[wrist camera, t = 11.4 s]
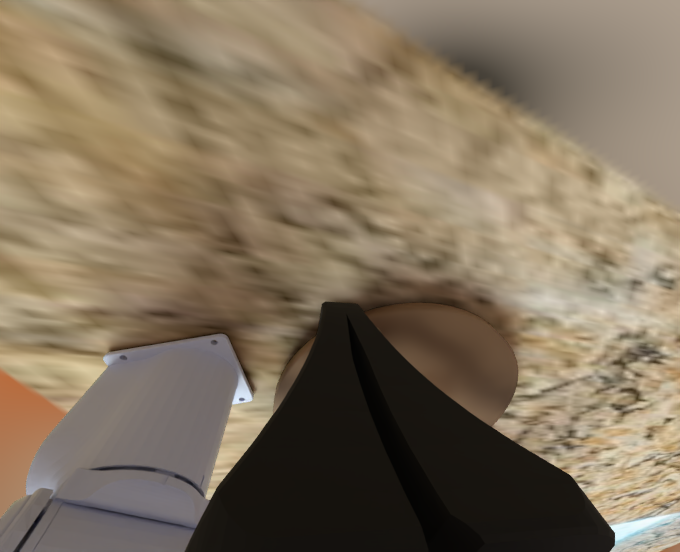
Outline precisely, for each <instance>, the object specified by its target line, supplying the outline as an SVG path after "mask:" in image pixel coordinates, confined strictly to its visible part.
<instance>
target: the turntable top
mask: <svg viewBox="0 0 680 552" xmlns="http://www.w3.org/2000/svg"><path fill="white" fill-rule="evenodd" d="M364 313H365V314H366V315H367V316H368V318H369V319H370V320H371V321H372V322H373V324H374V325H375V326H376V327H377V328H378V330H379V331H380V332H381V333H382V334H383V335H384V337H385V338H386V339H387V340H388V341H389V342H390V343H391V344H392V345H393V346H394V347H395V349H396V350H397V351H398V352H399V353H400V354H401V355H402V356H403V357H404V358H405V359H406V360H407V361H408V362H409V363H410V364H411V365H413V366H414V367H415V368H416V369H417V370H418V371H419V372H420V373H421V374H422V375H424V376H425V377H426V378H427V379H428V380H429V381H431V382H432V383H433V384H434V385H435V386H436V387H438V388H439V389H440V390H441V391H443V392H444V393H445V394H446V395H448V396H449V397H450V398H452V399H453V400H454V401H456V402H457V403H458V404H460V405H461V406H462V407H464V408H465V409H466V410H468V411H469V412H470V413H472V414H473V415H475V416H476V417H477V418H479V419H480V420H482V421H483V422H485V423H486V424H488V425H489V426H492V425H493V424H494V423H495V422H496V421H497V420H498V419H499V418H500V417H501V415H502V414H503V413H504V411H505V410H506V408H507V407H508V405H509V404H510V402H511V399H512V397H513V395H514V393H515V389H516V386H517V381H518V367H517V361H516V358H515V355H514V352H513V350H512V349H511V347H510V346H509V344H508V343H507V341H506V340H505V339H504V338H503V337H502V336H501V335H500V334H499V333H498V332H497V331H496V330H495V329H494V328H493V327H492V326H491V325H490V324H489V323H487V322H486V321H485V320H483V319H482V318H480V317H479V316H477V315H475V314H472V313H470V312H468V311H466V310H463V309H459V308H456V307H453V306H449V305H442V304H435V303H404V304H394V305H389V306H384V307H379V308H375V309H371V310H368V311H365V312H364ZM315 338H316V336H315V337H314V338H312V339H311V340H309V341H308V342H307V343H306V344H305V345H304V346H303V347H302V348H301V349H300V350H299V351H298V352H297V353H296V354H295V355H294V356H293V358H292V359H291V360H290V361H289V363H288V364H287V366H286V367H285V369H284V371H283V372H282V374H281V376H280V379H279V382H278V384H277V387H276V393H275V399H274V406H273V414H274V413H275V411H276V410H277V408H278V407H279V405H280V404H281V402H282V401H283V399H284V398H285V396H286V394H287V393H288V391H289V389H290V388H291V386H292V384H293V383H294V381H295V379H296V378H297V376H298V374H299V372H300V370H301V368H302V367H303V365H304V363H305V361H306V359H307V356H308V354H309V352H310V350H311V347H312V345H313V343H314V340H315Z"/></svg>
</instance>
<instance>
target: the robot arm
mask: <svg viewBox="0 0 680 552" xmlns="http://www.w3.org/2000/svg"><path fill="white" fill-rule="evenodd" d="M213 340H216V341H217V342H215V341H213ZM103 360H104V361H105V363H106V364H107V365H108V367H107V369H106V370H105V371H104V372H103V373H102V374H101V375H100V377H99V378H98V379H97V380H96V381H95V382H94V383H93V385H92V386H91V387H90V388H89V389H88V390H87V391H86V393H85V394H84V395H83V396H82V397H81V398H80V399H79V401H78V402H77V403H76V404H75V405H74V406H73V407H72V409H71V410H70V411H69V412H68V413H67V414H66V416H65V417H64V418H63V419H62V420H61V421H60V422H59V424H58V425H57V426H56V427H55V428H54V429H53V430H52V432H51V433H50V434H49V435H48V436H47V438H46V439H45V440H44V442H43V443H42V445H41V446H40V448H39V450H38V451H37V453H36V455H35V457H34V459H33V461H32V464H31V467H30V470H29V473H28V476H27V481H26V494H27V496H25V497H23V498H21V499H19V500H17V501H15V502H14V503H13V504H12V505H11V506H10V508H9V509H8V510H7V511H6V512H5V514H4V515H3V516H2V517H1V518H0V552H610V550H611V549H612V548H613V547H614V545H615V533H614V531H613V530H612V529H611V527H610V526H609V525H608V524H607V522H606V521H605V520H604V518H603V517H602V516H601V514H600V513H599V512H598V510H597V509H596V508H595V507H594V505H593V504H592V503H591V501H590V500H589V499H588V497H587V496H586V495H585V493H584V492H583V491H582V490H581V488H580V487H579V486H578V484H577V483H576V482H575V480H574V479H573V478H572V477H571V476H570V475H569V474H567V473H566V472H564V471H562V470H561V469H559V468H557V467H555V466H554V465H552V464H550V463H549V462H547V461H545V460H544V459H542V458H540V457H539V456H537V455H535V454H534V453H532V452H530V451H528V450H527V449H525V448H523V447H522V446H520V445H518V444H517V443H515V442H514V441H512V440H510V439H509V438H507V437H506V436H504V435H503V434H501V433H500V432H498V431H497V430H495V429H494V428H492V427H491V426H489V425H488V424H486V423H485V422H483V421H482V420H480V419H479V418H477V417H476V416H475V415H473V414H472V413H470V412H469V411H468V410H466V409H465V408H464V407H462V406H461V405H460V404H458V403H457V402H456V401H454V400H453V399H452V398H450V397H449V396H448V395H446V394H445V393H444V392H443V391H441V390H440V389H439V388H438V387H436V386H435V385H434V384H433V383H432V382H431V381H429V380H428V379H427V378H426V377H425V376H424V375H422V374H421V373H420V372H419V371H418V370H417V369H416V368H415V367H414V366H413V365H411V364H410V363H409V362H408V361H407V360H406V359H405V358H404V357H403V356H402V355H401V354H400V353H399V352H398V351H397V350H396V349H395V347H394V346H393V345H392V344H391V343H390V342H389V341H388V340H387V339H386V338H385V337H384V335H383V334H382V333H381V332H380V331H379V330H378V328H377V327H376V326H375V325H374V324H373V322H372V321H371V320H370V319H369V318H368V316H367V315H366V314H365V313H364V311H363V310H362V309H361V308H360V306H359V305H358V304H350V303H337V302H324V303H323V304H322V307H321V314H320V321H319V327H318V332H317V335H316V338H315V340H314V343H313V345H312V347H311V350H310V352H309V354H308V356H307V359H306V361H305V363H304V365H303V367H302V368H301V370H300V372H299V374H298V376H297V378H296V379H295V381H294V383H293V384H292V386H291V388H290V389H289V391H288V393H287V394H286V396H285V398H284V399H283V401H282V402H281V404H280V405H279V407H278V408H277V410H276V411H275V413H274V414H273V416H272V417H271V418H270V420H269V421H268V423H267V424H266V425H265V427H264V428H263V430H262V431H261V432H260V434H259V435H258V437H257V438H256V439H255V441H254V442H253V443H252V445H251V446H250V447H249V448H248V450H247V451H246V452H245V453H244V455H243V456H242V457H241V458H240V460H239V461H238V462H237V463H236V465H235V466H234V467H233V468H232V470H231V471H230V472H229V473H228V474H227V476H226V477H225V478H224V479H223V481H222V482H221V483H220V484H219V486H218V487H217V489H216V491H215V493H214V494H213V496H212V498H211V500H208V499H205V497H206V493H207V490H208V486H209V483H210V480H211V476H212V473H213V469H214V466H215V462H216V459H217V455H218V452H219V448H220V445H221V441H222V438H223V434H224V431H225V427H226V424H227V420H228V417H229V413H230V410H231V406H232V404H238V403H244V402H249V401H252V400H253V397H254V394H253V392H252V390H251V387H250V385H249V383H248V381H247V378H246V376H245V374H244V372H243V369H242V367H241V365H240V363H239V361H238V358H237V356H236V354H235V352H234V349H233V347H232V345H231V343H230V340H229V338H228V337H227V335H225V334H215V335H209V336H203V337H197V338H191V339H185V340H179V341H173V342H167V343H161V344H155V345H149V346H143V347H137V348H131V349H125V350H119V351H113V352H108V353H107V354H106V355H105V356H104V357H103Z"/></svg>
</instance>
